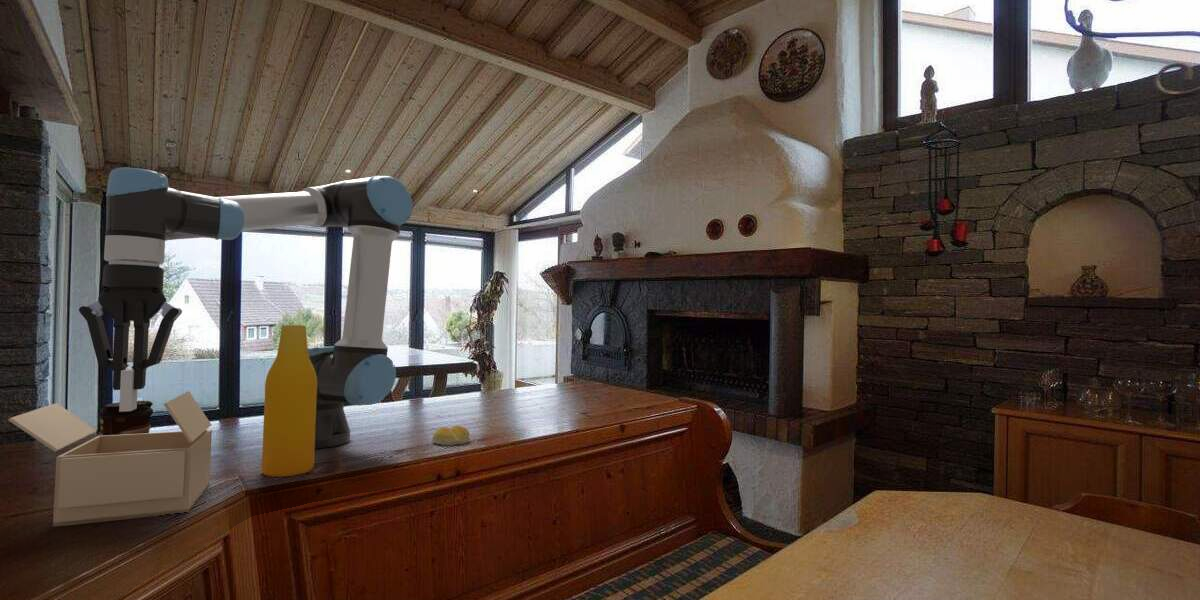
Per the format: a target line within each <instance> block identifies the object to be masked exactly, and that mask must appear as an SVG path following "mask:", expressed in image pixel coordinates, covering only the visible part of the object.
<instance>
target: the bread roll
mask: <svg viewBox="0 0 1200 600" xmlns="http://www.w3.org/2000/svg"><path fill="white" fill-rule="evenodd" d="M470 441H471V438H470V431H469V430H468V429H467V428H466V427H464V426H461V425H454V426H453V427H451V428H448V427H442V428H438V429H436V431H435V432H434V434H433V435H432V442H433V443H434V444H435V443H436V444H435V445H438V444H441V445H440V446H455V445H465V444H467V443H469V442H470Z"/></svg>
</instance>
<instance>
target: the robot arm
mask: <svg viewBox="0 0 1200 600" xmlns="http://www.w3.org/2000/svg"><path fill="white" fill-rule="evenodd" d="M105 197H106V212H105V213H106V214H105V216H106V218H105V221H106V223H105V225H106V226H105V236H104V239H105V240H104V249H103V250H104V251H103V252H104V253H103V260H104V261H106V262H108V264H105V266H103V273H102V275H103V276H102V292H101V293H100V294H99V296H98V298H97V299H98V300H97V301H94V302H93V303H91V304H88V305H87V306H86V305H85V306H84V305H82V306H80V307H79V308H78V312H79V313H80V314H81V315H82V317H83V318H84V319H85V321H86V323H87V326H88V331H89V334H90V338H91V343H92V346H93V350H94V353H95V357H96V361H97V365H98V366H100V367H106V368H108V369H111V370H112V389H113V391H119V402H120V404H119V412H123V411H132V410H134V409H137V401H138V390H142V389H145V386H146V377H147V369H148V368H150V367H153V366H156V365H159V364H160V363H161V361H162V358H163V355H164V353H165V350H166V347H167V344H168V340H169V338H170V335H171V332H172V329H173V327H174V323H175V321H176V320H177V319H179V317H180V316H181V315H182V313H183V310H182V309H181V308H179V307H175V306H173V305H172V304H170V303H168V302H167V298H166V297H165V295H164V275H165V274H164V273H165V269H163V267H162V266H161V267H160V265H163V264H164V263H165V251H166V242H167V241H173V240H185V239H186V240H187V239H200V238H204V239H205V238H206V239H207V238H208V239H213V240H217V241H218V240H225V241H226V240H227V241H232V240H235V239H237V238H238V237H239V236H240V234H241V233H242V232H251V231H259V230H260V231H261V230H266V229H268V230H270V229H275V228H276V229H277V228H284V227H285V228H286V227H294V226H296V227H297V226H303V225H307V226H308V227H311V228H323V227H325V228H326V227H335V228H336V227H341V228H347V231H348V232H349V233H350V234H351V235H352V237H353V240H352V250H351V258H350V266H349V267H350V268H349V275H348V276H349V277H348V285H347V295H346V303H345V304H346V305H345V312H344V320H343V330H342V337H341V338H340V339H339V340H338V341H337V342H335V343H334V344H333V345H334V346H333V345H332V346H317V347H307V348H308V355H309V359H310V361H311V363H312V365H313V367H314V369H315V372H316V376H317V399H316V425H315V449H324V448H325V449H326V448H330V447H337V446H340V445H341V446H342V445H344V444H346V443H348V442H350V441H351V429H350V426H349V423H348V419H347V417H346V412H345V408H344V406H345V405H344V404H351V405H354V406H370V405H375V404H377V403H380V402H381V401H383V400H384V399H385V397H386V396H388V395H389V394H390V392H391V391H392V389H393V387H394V385H395V382H396V377H397V368H396V366H395V364H394V362H393V360H392V359H391V358H390V357H388V348H389V346H387V345H386V344H385V343H384V341H383V332H384V321H385V313H386V306H387V305H386V302H387V296H388V295H387V293H388V285H389V276H390V274H389V273H390V266H391V257H392V248H393V247H392V246H393V241H395V240H397V238H399V237H400V232H401V226H402V225H404V224H406V223H407V222H408V220H410V218H411V217H412V214H413V201H412V197H411V194H410V192H409V191H408V189H407V187H406V185H404V183H403V182H401V181H400V180H399V179H397V178H396V177H393V176H391V175H372V176H370V177H363V178H356V179H346V180H342V181H337V182H333V183H329V184H323V185H320V186H319V185H318V186H307V187H305V188H303V189H302V190H301V191H297V192H296V191H295V192H278V193H259V194H247V195H231V196H230V195H229V196H210V195H206V194H200V193H194V192H190V191H189V192H188V191H183V190H177V189H175V188H171V187H170V185H169V179H168V177H167V176H166V175H165V174H163V173H161V172H157V171H156V170H155V171H154V170H151V169H145V168H136V167H129V166H128V167H124V166H123V167H118V168H114V169H112V170H111V171H110V173H109V176H108V179H107V189H106V194H105ZM103 309H104V310H105V312H107V314H108V315H109V316H110V318H112V319H113V322H112V323H113V324H112V326H113V329H114V330H113V344H112V345H113V346H112V347H113V348H112V351H111V345H110V343H109V339H108V335H107V330H106V327H105V322H104V320H103V318H102V316H103V313H104V311H103ZM161 310H162V311H161ZM159 311H161V317H162V319H161V321H160V323H159V325H158V329H157V332H156V335H155V338H154V340H153V343H152V347H151V349H150V352H149V351H148V350H149V332H150V331H149V329H150V324H151V320H152V318H154V316H156V315H157V314H158V312H159ZM131 322H133V328H134V332H133V333H134V334H133V355H132V356H133V357H132V359H133V360H132V366H131V368H128V367H129V366H130V364H128V358H129V340H130V339H129V337H130V327H131ZM148 352H149V355H148Z"/></svg>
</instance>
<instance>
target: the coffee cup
mask: <svg viewBox="0 0 1200 600" xmlns="http://www.w3.org/2000/svg"><path fill="white" fill-rule="evenodd" d="M119 404H120V401H118V402H112V403H108V404H105V405H104V408H103V409H102V410H101V411H99V413H97V417H98V418H99V424H100V436H105V435H123V434H142V433H150V429H151V427H152V426H151V423H150V421H151V416H152V415H153V413H154V409H153V408H152V406H153V405H154V403H153V402H152V401H150V400H137V409H134V410H132V411H123V412H119Z"/></svg>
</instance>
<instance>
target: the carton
mask: <svg viewBox="0 0 1200 600" xmlns="http://www.w3.org/2000/svg"><path fill="white" fill-rule="evenodd" d="M212 433H213V429H206V430H205V431H204V432H203V433H202V434H201V435H199V436H198V437H197V438H196V439H195V440H194V441H192V442H189V441H188V439H187V438H186V437H185V435H184V434H183V432H182V431H165V432H149V433H142V434H123V435H105V436H101V435H97V436H95V437H94V438H91V439H89V440H87V441H85V442H83V443H81V444H80V445H77V446H76V447H73V448H72V449H70V450H68V451H65V452H64V453H62V454H60V455H57V456H56V463H55V481H54V485H55V486H54V500H53V515H52V516H53V517H52V518H53V519H52V528H57V527H65V526H75V525H83V524H92V523H103V522H112V521H121V520H122V521H123V520H131V519H141V518H142V519H143V518H150V517H160V516H159V515H162V516H166V515H165V514H171V515H176V514H175V513H180V514H185V513H184V512H188V513H189V512H190V511H191V510H192V509H191V507H192V506H193V505H194V504H195V505H196V503H197V502H198V501H199V499H200V498H201V497H202V496H203V494H204V493H205V492H204V491H206V490H207V489H208V488H207V487H210V482H211V481H210V480H211V479H210V478H211V460H212V459H211V455H212ZM206 488H207V489H206ZM203 492H204V493H203ZM201 495H202V496H201ZM200 496H201V497H200ZM199 497H200V498H199ZM198 498H199V499H198ZM197 500H198V501H197ZM196 501H197V502H196ZM195 502H196V503H195ZM195 505H194V506H195ZM194 506H193V507H194ZM193 507H192V508H193ZM190 509H191V510H190ZM189 510H190V511H189Z"/></svg>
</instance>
